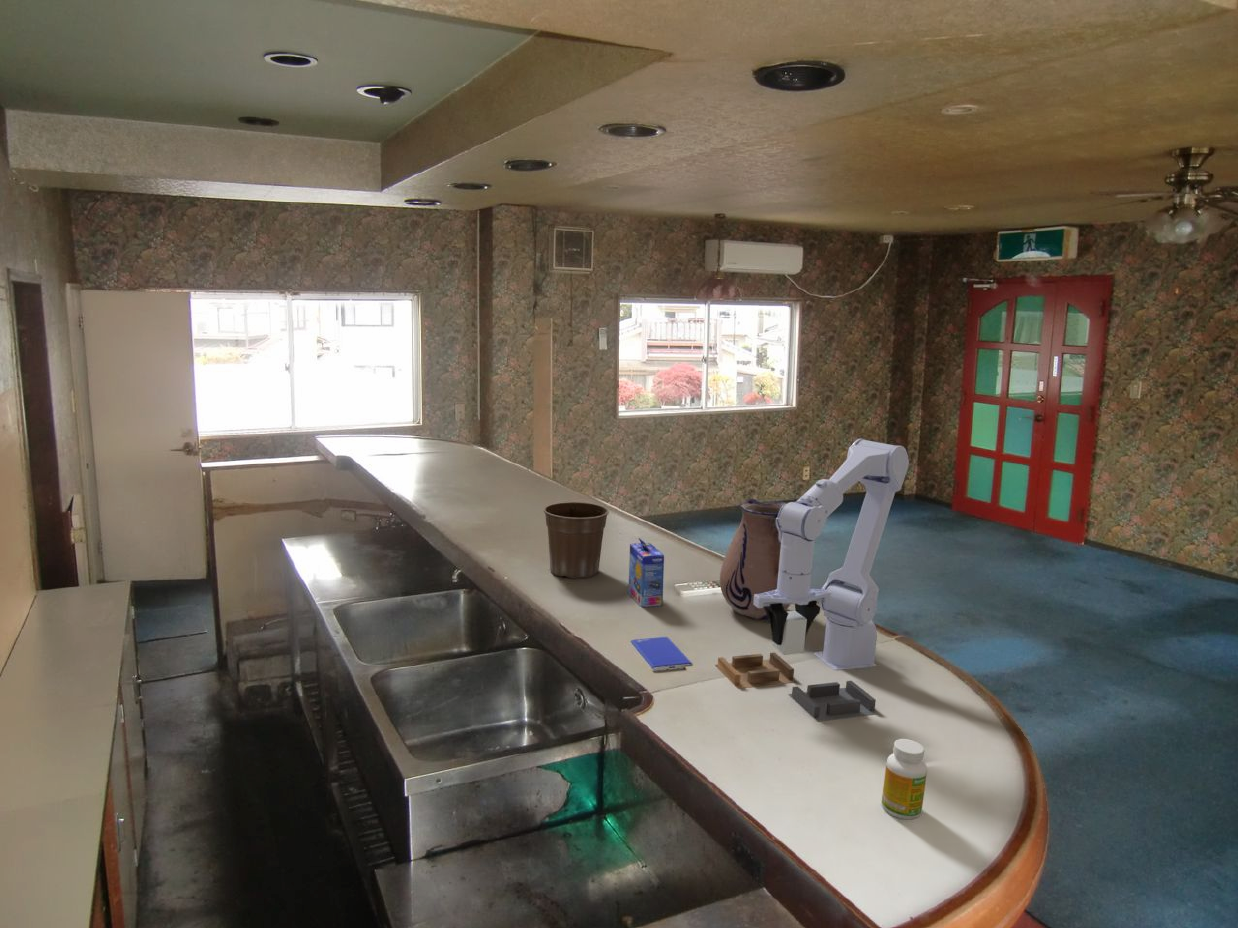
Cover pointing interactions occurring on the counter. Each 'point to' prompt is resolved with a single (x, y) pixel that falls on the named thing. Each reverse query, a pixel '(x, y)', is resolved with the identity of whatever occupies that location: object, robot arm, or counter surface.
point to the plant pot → (575, 538)
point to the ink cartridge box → (646, 574)
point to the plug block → (793, 634)
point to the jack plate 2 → (834, 701)
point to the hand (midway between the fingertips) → (788, 641)
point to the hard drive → (660, 653)
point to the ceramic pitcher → (752, 558)
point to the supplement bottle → (905, 780)
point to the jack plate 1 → (756, 670)
